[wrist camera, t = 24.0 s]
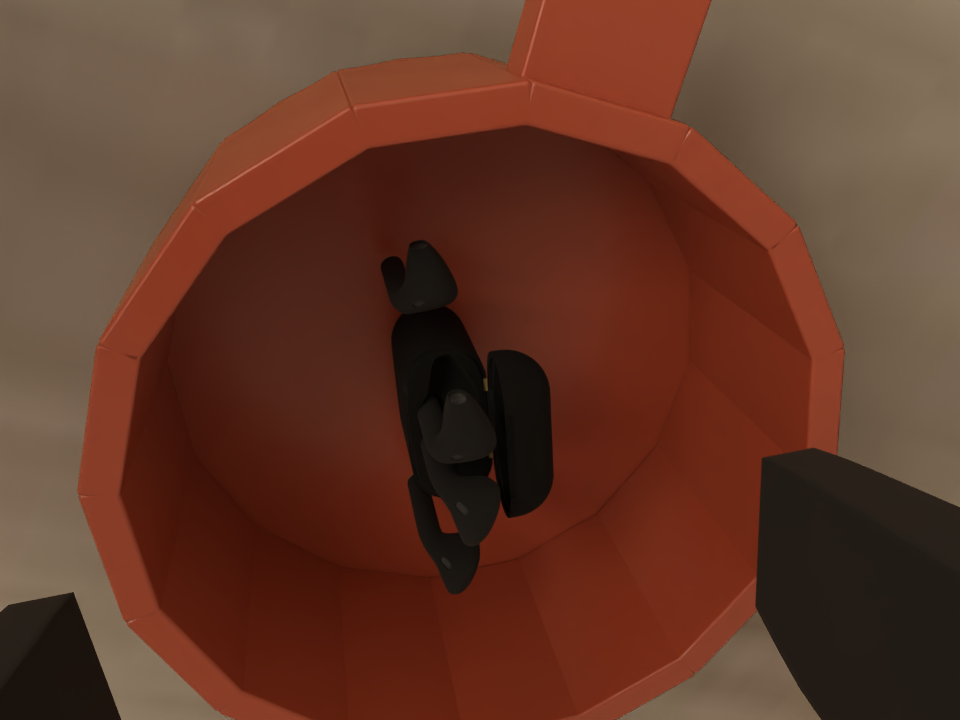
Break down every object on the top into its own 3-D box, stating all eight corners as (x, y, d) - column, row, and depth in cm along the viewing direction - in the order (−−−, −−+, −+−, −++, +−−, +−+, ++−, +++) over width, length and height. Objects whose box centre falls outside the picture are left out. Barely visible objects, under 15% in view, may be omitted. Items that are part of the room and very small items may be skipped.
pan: (95, 645, 20) (28, 861, 15) (222, -203, 14) (180, -302, 9) (573, 684, 23) (645, 871, 19) (838, 14, 17) (1052, 26, 13)
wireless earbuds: (370, 204, 17) (397, 287, 12) (497, 189, 17) (568, 265, 13) (408, 506, 20) (441, 663, 15) (515, 489, 20) (579, 637, 15)
